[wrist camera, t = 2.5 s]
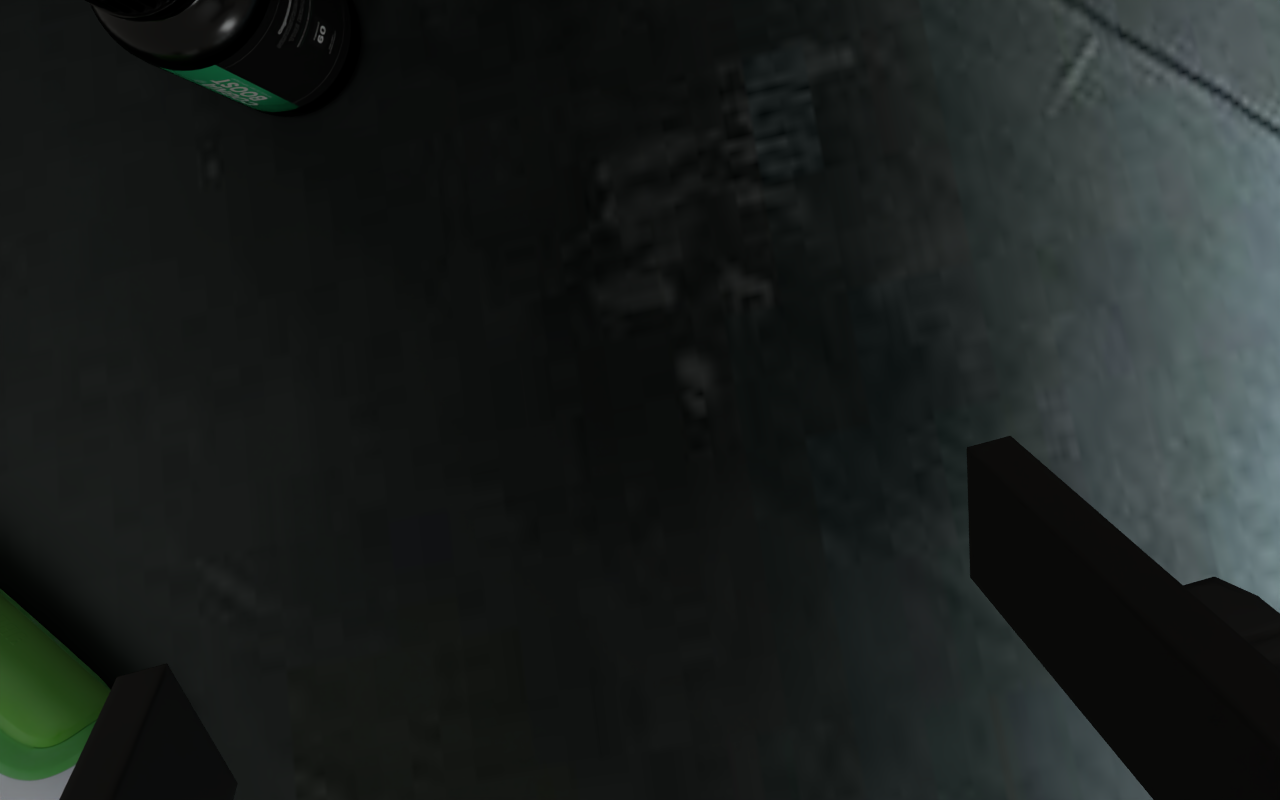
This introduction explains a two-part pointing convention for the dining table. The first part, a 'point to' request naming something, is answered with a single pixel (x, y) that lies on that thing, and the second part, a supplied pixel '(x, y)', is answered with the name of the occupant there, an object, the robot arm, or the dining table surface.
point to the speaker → (41, 707)
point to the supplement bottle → (245, 46)
